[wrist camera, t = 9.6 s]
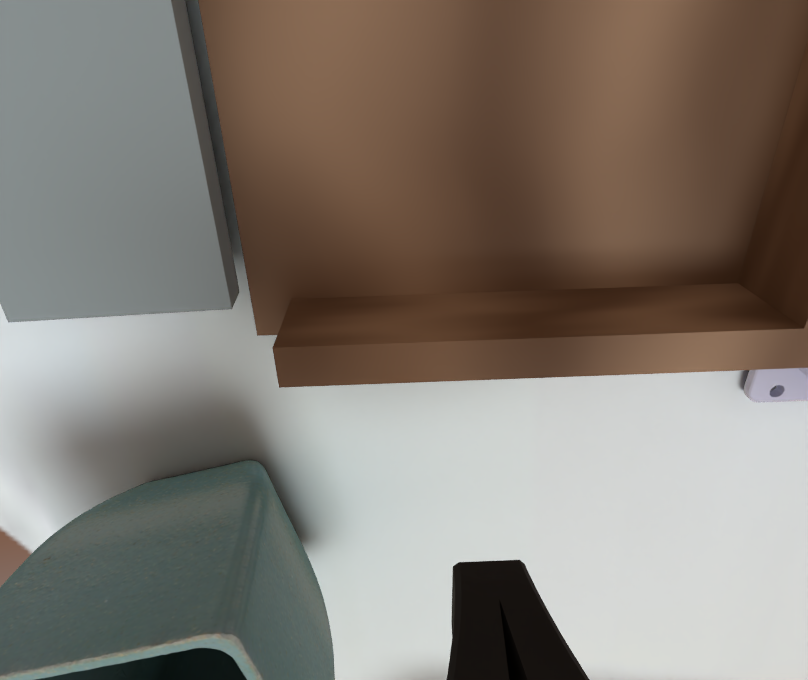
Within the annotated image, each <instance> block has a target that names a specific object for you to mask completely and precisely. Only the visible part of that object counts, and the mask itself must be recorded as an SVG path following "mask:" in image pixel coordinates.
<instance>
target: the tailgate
mask: <svg viewBox="0 0 808 680" xmlns="http://www.w3.org/2000/svg"><path fill="white" fill-rule="evenodd" d="M238 294H239V287H238V281H237V276H236V271H235V265H234V260H233V254H232V249H231V244H230V238H229V233H228V228H227V222H226V217H225V212H224V206H223V201H222V195H221V190H220V185H219V179H218V174H217V169H216V163H215V158H214V153H213V147H212V142H211V136H210V131H209V126H208V120H207V115H206V110H205V104H204V99H203V93H202V88H201V83H200V77H199V72H198V67H197V61H196V56H195V51H194V45H193V40H192V34H191V29H190V24H189V18H188V13H187V8H186V2H185V0H0V304H1V306H2V308H3V311H4V313H5V316H6V318H7V320H8V322H21V321H38V320H55V319H72V318H89V317H105V316H122V315H139V314H156V313H173V312H190V311H206V310H223V309H232V307H233V305H234V303H235V301H236V299H237V296H238Z"/></svg>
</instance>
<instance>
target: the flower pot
mask: <svg viewBox="0 0 808 680" xmlns="http://www.w3.org/2000/svg"><path fill="white" fill-rule="evenodd" d="M0 680H335V676H334V655H333V645H332V638H331V631H330V625H329V620H328V616H327V611H326V607H325V603H324V599H323V596H322V593H321V589H320V586H319V584H318V581H317V578H316V576H315V573H314V571H313V568H312V566H311V563H310V561H309V559H308V556H307V554H306V552H305V550H304V548H303V546H302V544H301V542H300V540H299V538H298V536H297V534H296V532H295V530H294V528H293V526H292V524H291V522H290V520H289V518H288V516H287V514H286V511H285V509H284V507H283V505H282V503H281V501H280V499H279V497H278V495H277V493H276V491H275V489H274V487H273V484H272V482H271V480H270V478H269V476H268V474H267V472H266V470H265V468H264V467H263V466H262V465H261V464H260V463H259V462H257V461H253V460H247V461H242V462H237V463H233V464H229V465H225V466H220V467H216V468H211V469H207V470H203V471H198V472H194V473H189V474H185V475H180V476H175V477H171V478H166V479H161V480H156V481H152V482H148V483H145V484H142V485H140V486H138V487H135V488H133V489H131V490H128V491H126V492H124V493H121V494H119V495H117V496H115V497H113V498H111V499H109V500H107V501H105V502H103V503H101V504H99V505H97V506H95V507H93V508H92V509H90V510H88V511H87V512H85V513H83V514H82V515H80V516H78V517H77V518H75V519H74V520H72V521H71V522H69V523H68V524H67V525H65V526H64V527H62V528H61V529H60V530H58V531H57V532H56V533H55V534H53V535H52V536H51V537H50V538H48V539H47V540H46V541H45V542H44V543H43V544H42V545H40V546H39V547H38V548H37V549H36V550H35V551H34V552H33V553H32V554H31V555H30V556H29V557H28V558H27V559H26V561H24V563H23V564H22V565H21V566H20V567H19V568H18V569H17V570H16V571H15V572H14V573H13V574H12V575H11V576H10V577H9V578H8V580H7V581H6V582H5V583H4V584H3V585H2V586H1V587H0Z"/></svg>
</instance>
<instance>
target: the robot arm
mask: <svg viewBox="0 0 808 680" xmlns="http://www.w3.org/2000/svg"><path fill="white" fill-rule="evenodd" d="M774 386H776V388H775V389H773V390H771V389H772V388H773V387H774ZM770 390H771V391H770ZM744 393H745V395H746V396H747V397H748V398H749V399H750V400H752V401H753V402H780V401H806V400H808V368H788V369H761V370H749V373H748V376H747V379H746V382H745V385H744ZM452 636H453V638H452V646H451V654H450V661H449V669H448V676H447V680H589V678H588V677H587V675H586V674H585V672H584V670H583V669H582V667H581V666H580V664H579V662H578V661H577V659H576V658H575V656H574V654H573V653H572V651H571V650H570V648H569V646H568V645H567V643H566V641H565V640H564V638H563V636H562V635H561V633H560V631H559V630H558V628H557V626H556V624H555V623H554V621H553V619H552V617H551V615H550V614H549V612H548V610H547V608H546V606H545V605H544V603H543V601H542V599H541V597H540V595H539V593H538V591H537V589H536V587H535V585H534V583H533V581H532V579H531V577H530V575H529V573H528V571H527V569H526V566H525V564H524V563H523V562H521V561H520V560H507V561H482V562H459V563H457V564H456V565H455V566H453V587H452Z"/></svg>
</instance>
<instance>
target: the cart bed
mask: <svg viewBox="0 0 808 680" xmlns="http://www.w3.org/2000/svg"><path fill="white" fill-rule="evenodd" d="M198 2H199V7H200V13H201V19H202V24H203V30H204V36H205V41H206V47H207V53H208V58H209V64H210V70H211V75H212V81H213V87H214V92H215V98H216V104H217V109H218V115H219V121H220V126H221V132H222V138H223V143H224V149H225V154H226V160H227V166H228V171H229V177H230V183H231V188H232V194H233V200H234V205H235V211H236V217H237V222H238V228H239V234H240V239H241V245H242V251H243V256H244V262H245V268H246V273H247V279H248V285H249V290H250V296H251V302H252V307H253V313H254V319H255V324H256V330H257V336H258V335H277V338H276V340H275V343H274V346H273V353H274V359H275V365H276V371H277V377H278V383H279V387H302V386H329V385H356V384H383V383H410V382H437V381H464V380H491V379H518V378H545V377H572V376H599V375H626V374H653V373H680V372H707V371H734V370H761V369H788V368H808V0H198Z"/></svg>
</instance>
